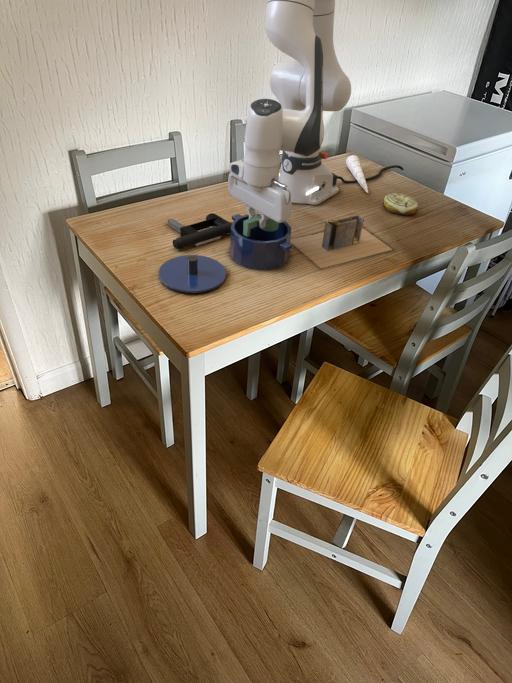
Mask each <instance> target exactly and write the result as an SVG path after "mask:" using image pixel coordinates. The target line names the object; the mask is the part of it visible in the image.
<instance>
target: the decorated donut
mask: <svg viewBox="0 0 512 683" xmlns="http://www.w3.org/2000/svg"><path fill="white" fill-rule="evenodd" d="M382 202H383V206H384V208H385V209H386V210H387V211H388V212H390V213H392V214H396V215H400V216H402V215H403V216H410V215H414V214H415V213H416V211H417V210H418V209H417V208H418V206H419V204H418V202H417V201H416V199H415V198H414V197H411V196H410V195H408V194H404V193H398V192H396V193H395V192H393V193H389V194H387V195H385V196H384V198H383V201H382Z"/></svg>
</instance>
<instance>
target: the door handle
mask: <svg viewBox="0 0 512 683" xmlns="http://www.w3.org/2000/svg"><path fill="white" fill-rule="evenodd" d="M232 222H233V221H228V220H226V219H225V218H223V217H221V216H219V215H218V214H216V213H213V212H211V213H209V214H207V215H206V216H205V220H203V221H199V222H195V223H191V224H189V225H183V224H182V223H180V222H179V221H178V220H176V219H175V218H173V217H172V218H168V219H167V225H168V226H169V227H170V228H172V229H173V230H175V231H176V232H178V233H179V234H180V237H177V238H175V239H173V240H172V247H173V248H174V249H175V250H182V249H185V248H188V247H191V246H195V247H199V246H201V245H204V244H207V243H210V242H213V241H217V240H220V239H222V237H223V236H226V235H229V234H230V235H231V225H232Z"/></svg>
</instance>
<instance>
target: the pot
mask: <svg viewBox="0 0 512 683" xmlns="http://www.w3.org/2000/svg"><path fill="white" fill-rule="evenodd" d="M256 215H257V216H259V215H261V213H256ZM247 219H249V214H244V215H241V214H240V213H235V214H234V215H232V216H231V220H232V221H231V222H232V225H231V233H230V242H229V254H230V257H231V259H232V260H233V261H234V262H235V263H236V264H238V265H240V266H241V267H244V268H246V269H247V268H248V269H251V270H259V271H260V270H261V271H264V270H265V271H266V270H273V269H277V268H280V267H282V266H283V265H285V264H286V262H287V261H288V260H289V255H290V250H292V249H293V246H294V245H293V244H292V243H291V242H290V240H292V239H291V237H292V226H291V225H290V224H289V222H287V221H285V222H282V223H279V227H278V229H277V230H276V231H264V230H262V229H261V228H260V227H258V226H257V227H254V228H251V229H250V236H248V237H246V236H245V235H243V228H244V227H243V223H244V221H245V220H247Z"/></svg>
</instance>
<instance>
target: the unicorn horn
mask: <svg viewBox="0 0 512 683" xmlns="http://www.w3.org/2000/svg"><path fill="white" fill-rule="evenodd" d="M360 161H361V160H360V158H359V157H358V156H357V155H356V154H352V155H349V156H348V157H347V158H346V159H345V166H346V167H347V169H348V170H349V171H350V173H351V174H352V176H353V177H354V178H355V179H354V180H357V181H358V182H357V183H358V184H359V185H360V187H361V188H362V189H363V191H364V192H365V193H366V194H369V188H368V184H367V181H366V180H365V178H366V177H365V174H364V171H363V167H362V164H361V162H360Z"/></svg>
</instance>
